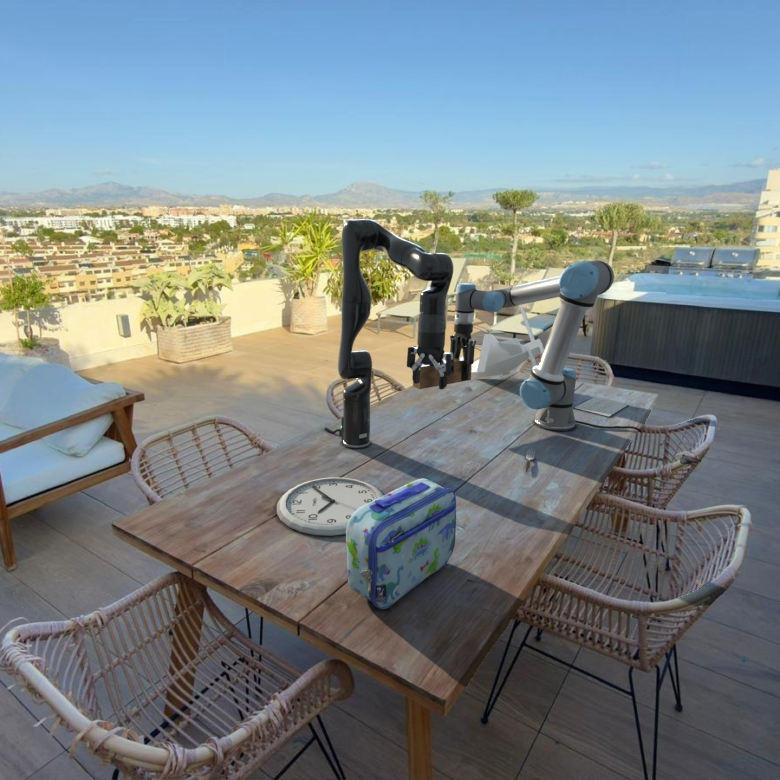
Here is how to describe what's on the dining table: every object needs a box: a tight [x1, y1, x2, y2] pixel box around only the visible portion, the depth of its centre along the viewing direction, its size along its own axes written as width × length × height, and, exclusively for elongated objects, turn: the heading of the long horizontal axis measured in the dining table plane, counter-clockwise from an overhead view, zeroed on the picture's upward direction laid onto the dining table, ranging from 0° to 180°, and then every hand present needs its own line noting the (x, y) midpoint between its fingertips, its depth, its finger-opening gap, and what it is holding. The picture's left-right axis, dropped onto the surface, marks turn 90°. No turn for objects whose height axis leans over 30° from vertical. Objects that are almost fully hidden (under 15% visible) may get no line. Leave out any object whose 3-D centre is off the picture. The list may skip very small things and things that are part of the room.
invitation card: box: [573, 396, 629, 418], centre depth 226 cm, size 21×1×15 cm
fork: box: [525, 448, 536, 473], centre depth 169 cm, size 3×16×2 cm, turn 160°
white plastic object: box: [471, 307, 545, 379], centre depth 257 cm, size 37×45×31 cm
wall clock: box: [276, 476, 385, 537], centre depth 142 cm, size 30×2×30 cm
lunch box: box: [345, 477, 457, 610], centre depth 110 cm, size 26×11×21 cm, turn 134°
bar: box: [412, 356, 472, 390], centre depth 210 cm, size 26×5×9 cm, turn 123°
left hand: (429, 385), depth 147 cm, fingers open, 8 cm apart
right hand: (460, 378), depth 216 cm, fingers closed on bar, 5 cm apart
